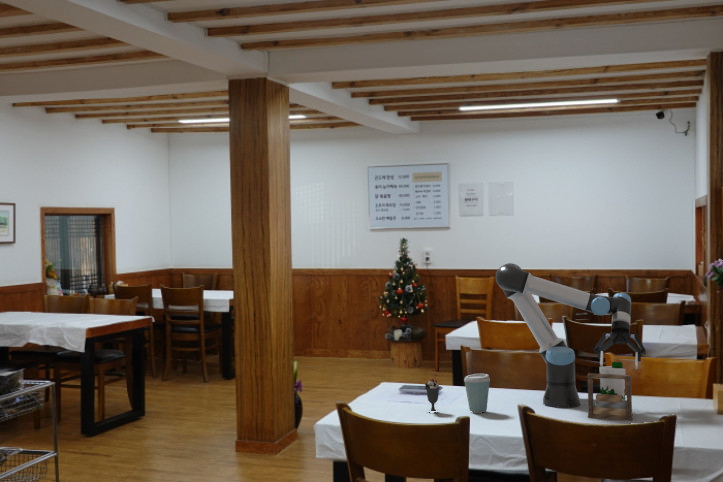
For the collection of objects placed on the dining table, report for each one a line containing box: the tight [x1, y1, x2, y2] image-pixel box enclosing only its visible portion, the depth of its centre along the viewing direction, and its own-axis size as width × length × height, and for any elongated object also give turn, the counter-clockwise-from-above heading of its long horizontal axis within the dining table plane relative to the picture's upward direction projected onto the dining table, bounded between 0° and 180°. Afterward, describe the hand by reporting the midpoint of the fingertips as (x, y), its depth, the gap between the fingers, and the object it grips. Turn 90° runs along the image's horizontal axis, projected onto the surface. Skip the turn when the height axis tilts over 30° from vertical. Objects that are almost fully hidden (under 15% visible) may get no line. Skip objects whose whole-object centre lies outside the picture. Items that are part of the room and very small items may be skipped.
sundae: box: [424, 374, 441, 411], centre depth 312 cm, size 7×7×15 cm
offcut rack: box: [587, 372, 634, 422], centre depth 295 cm, size 16×6×17 cm, turn 66°
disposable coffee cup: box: [463, 373, 491, 414], centre depth 311 cm, size 11×11×15 cm
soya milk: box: [598, 361, 627, 400], centre depth 304 cm, size 9×9×20 cm
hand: (618, 366), depth 310 cm, fingers open, 13 cm apart
